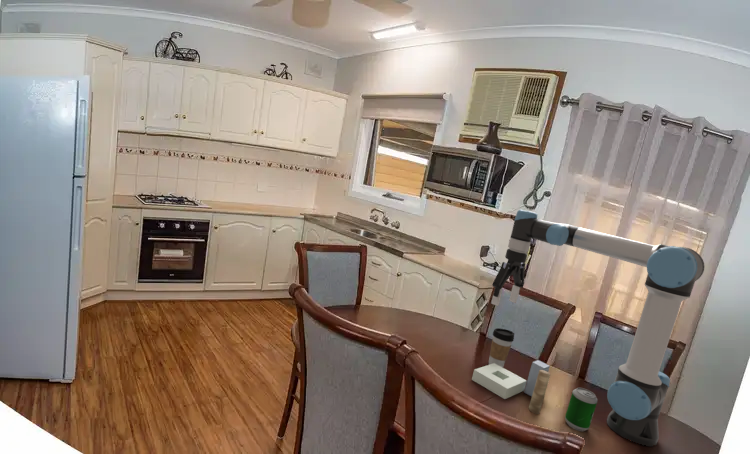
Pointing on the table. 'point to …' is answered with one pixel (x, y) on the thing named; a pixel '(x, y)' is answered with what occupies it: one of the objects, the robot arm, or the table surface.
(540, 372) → the oak dowel
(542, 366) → the square peg
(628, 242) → the robot arm
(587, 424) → the soda can
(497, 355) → the coffee cup
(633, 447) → the table surface
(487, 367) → the socket block
